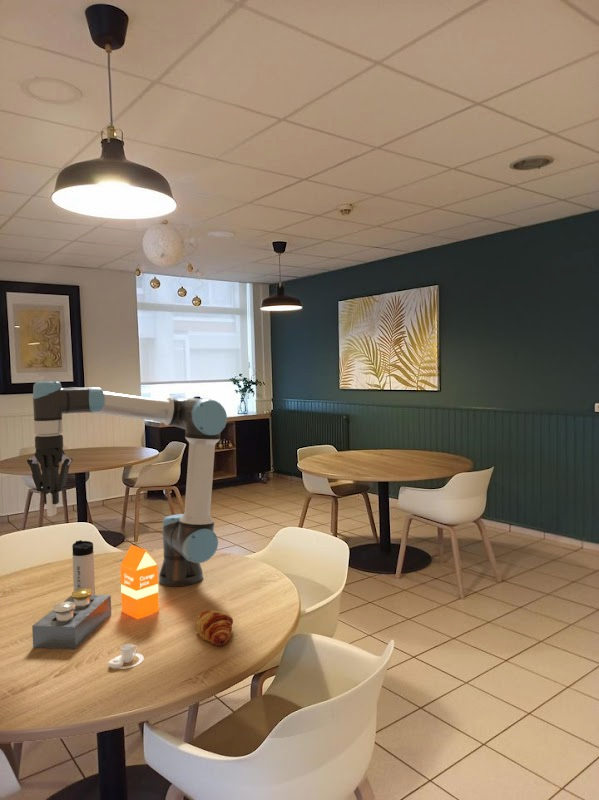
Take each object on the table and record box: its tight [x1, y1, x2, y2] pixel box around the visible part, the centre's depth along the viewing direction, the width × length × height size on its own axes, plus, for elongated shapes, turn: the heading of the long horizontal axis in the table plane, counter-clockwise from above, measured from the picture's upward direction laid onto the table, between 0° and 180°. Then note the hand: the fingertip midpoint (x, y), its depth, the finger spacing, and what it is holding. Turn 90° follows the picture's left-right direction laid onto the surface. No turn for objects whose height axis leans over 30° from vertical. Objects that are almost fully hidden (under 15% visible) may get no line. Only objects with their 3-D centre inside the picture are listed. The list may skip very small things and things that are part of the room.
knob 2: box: [71, 588, 92, 606], centre depth 169 cm, size 6×6×8 cm
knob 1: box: [53, 601, 75, 621], centre depth 159 cm, size 6×6×8 cm
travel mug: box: [71, 539, 96, 595], centre depth 182 cm, size 6×7×20 cm
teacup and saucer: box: [107, 643, 145, 670], centre depth 145 cm, size 9×8×4 cm
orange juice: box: [120, 544, 160, 620], centre depth 176 cm, size 8×9×20 cm
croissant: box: [195, 609, 234, 646], centre depth 160 cm, size 21×10×8 cm, turn 22°
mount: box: [31, 594, 112, 650], centre depth 164 cm, size 12×22×6 cm, turn 174°
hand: (52, 515), depth 167 cm, fingers closed
